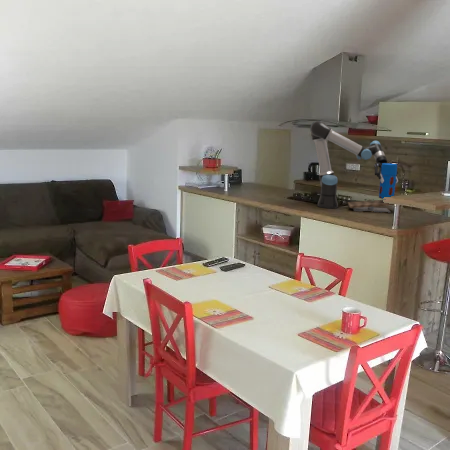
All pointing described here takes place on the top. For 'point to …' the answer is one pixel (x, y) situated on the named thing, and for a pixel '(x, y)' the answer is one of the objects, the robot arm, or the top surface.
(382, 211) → the tribrach base
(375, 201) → the levelling board
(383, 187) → the blue tall block
